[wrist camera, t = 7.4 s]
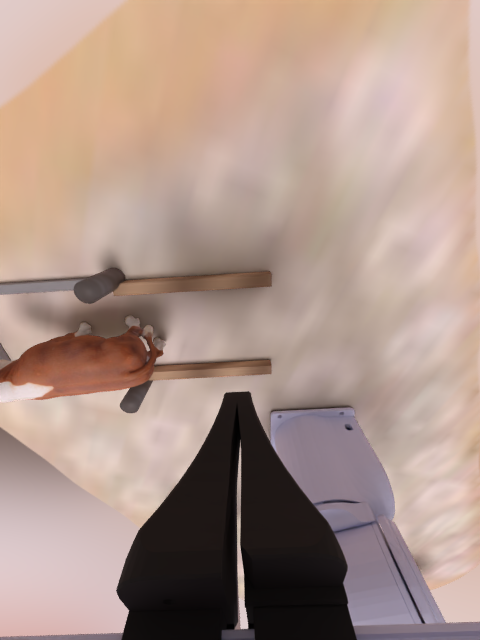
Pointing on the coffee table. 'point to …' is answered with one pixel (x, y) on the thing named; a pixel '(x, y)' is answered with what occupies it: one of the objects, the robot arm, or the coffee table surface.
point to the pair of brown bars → (116, 282)
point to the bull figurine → (81, 364)
